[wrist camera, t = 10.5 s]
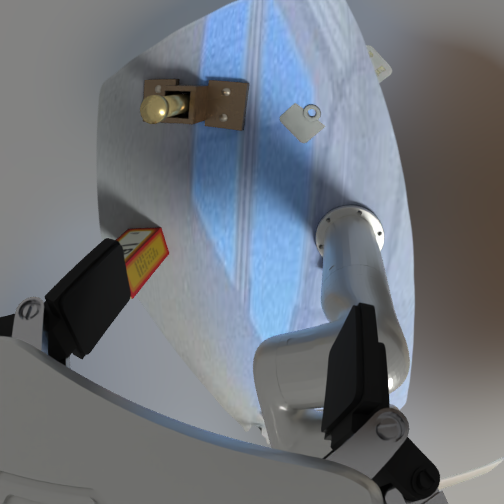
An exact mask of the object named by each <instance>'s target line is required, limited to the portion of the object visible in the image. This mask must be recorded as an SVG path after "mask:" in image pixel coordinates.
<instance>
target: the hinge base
mask: <svg viewBox="0 0 504 504" xmlns="http://www.w3.org/2000/svg"><path fill="white" fill-rule="evenodd" d="M182 91H191V93H190V105H189V113H182V114H178V115H174V116H170V117H167V118H165V120H163V121H162V122H163V123H183V124H196V123H199V122H202V121H205V126H209V127H218V128H226V129H233V130H240V131H242V130H244V122H245V114H246V106H247V98H248V91H249V83H241V82H229V81H215V80H209V84H208V86H205V85H179V79H154V80H145V84H144V99H145V98H146V97H148V96H151V95H161V96H170V95H178V94H182ZM143 122H146V121H144V120H143Z"/></svg>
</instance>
